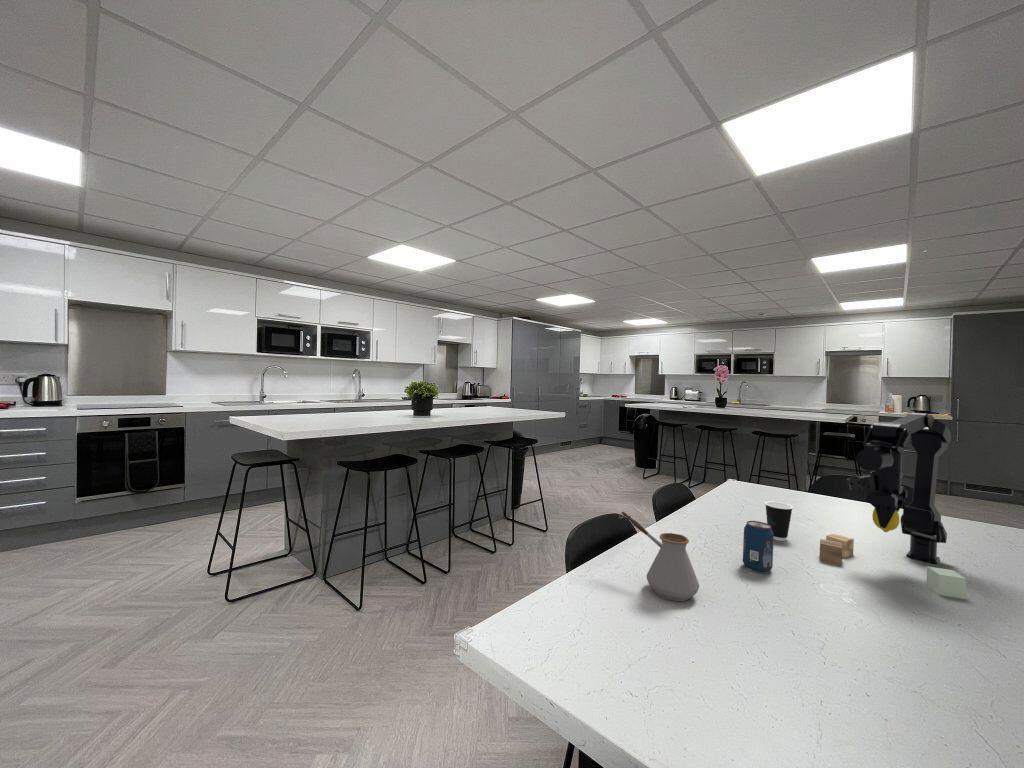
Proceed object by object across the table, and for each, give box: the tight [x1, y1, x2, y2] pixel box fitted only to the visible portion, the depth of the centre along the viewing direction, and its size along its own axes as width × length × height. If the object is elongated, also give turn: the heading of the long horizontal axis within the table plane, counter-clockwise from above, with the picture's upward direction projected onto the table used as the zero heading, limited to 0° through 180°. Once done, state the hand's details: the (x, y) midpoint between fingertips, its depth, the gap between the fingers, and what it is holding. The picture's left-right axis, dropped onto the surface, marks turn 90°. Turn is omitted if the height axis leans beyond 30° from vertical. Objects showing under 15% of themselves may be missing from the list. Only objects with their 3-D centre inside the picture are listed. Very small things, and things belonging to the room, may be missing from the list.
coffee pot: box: [618, 511, 700, 602], centre depth 101 cm, size 21×12×15 cm, turn 37°
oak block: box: [825, 533, 855, 559], centre depth 126 cm, size 5×5×5 cm
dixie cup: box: [764, 500, 794, 542], centre depth 137 cm, size 8×8×11 cm
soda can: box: [742, 520, 774, 574], centre depth 113 cm, size 7×7×12 cm
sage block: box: [925, 566, 967, 600], centre depth 103 cm, size 5×5×5 cm
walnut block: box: [819, 538, 843, 566], centre depth 120 cm, size 5×5×5 cm
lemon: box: [871, 508, 900, 533], centre depth 114 cm, size 6×6×8 cm
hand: (885, 525), depth 114 cm, fingers closed on lemon, 5 cm apart
